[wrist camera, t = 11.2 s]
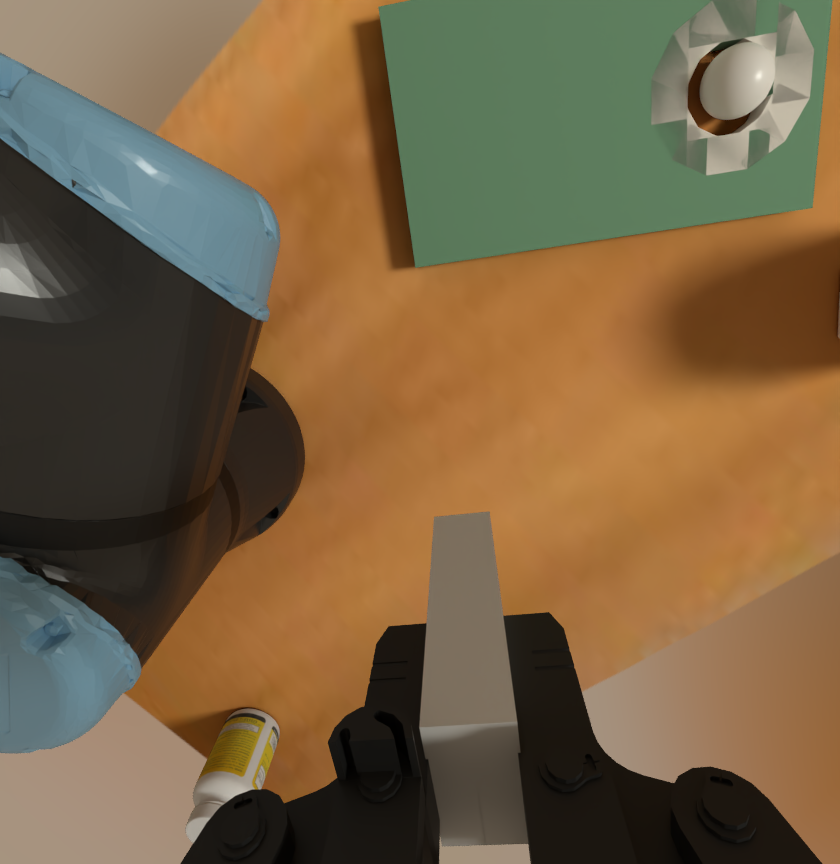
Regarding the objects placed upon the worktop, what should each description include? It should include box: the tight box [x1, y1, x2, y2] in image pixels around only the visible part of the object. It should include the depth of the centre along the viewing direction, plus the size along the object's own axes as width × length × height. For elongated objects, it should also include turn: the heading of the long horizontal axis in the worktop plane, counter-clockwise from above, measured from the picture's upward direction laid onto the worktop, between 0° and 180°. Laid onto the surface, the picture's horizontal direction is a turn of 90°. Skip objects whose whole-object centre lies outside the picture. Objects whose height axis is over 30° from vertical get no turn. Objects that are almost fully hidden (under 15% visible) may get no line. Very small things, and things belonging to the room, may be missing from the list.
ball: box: [700, 42, 775, 120], centre depth 29 cm, size 4×4×4 cm
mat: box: [379, 0, 832, 268], centre depth 31 cm, size 24×14×2 cm, turn 98°
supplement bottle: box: [185, 708, 280, 843], centre depth 46 cm, size 5×5×10 cm
